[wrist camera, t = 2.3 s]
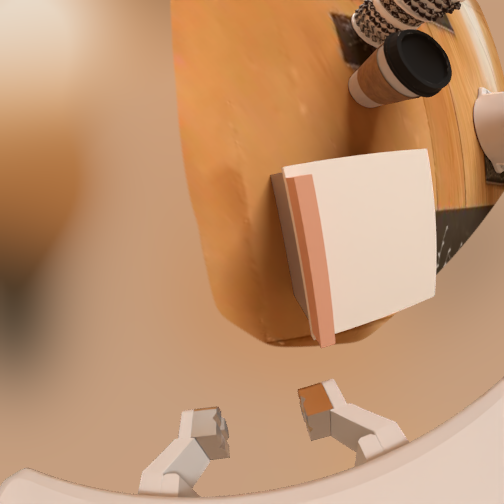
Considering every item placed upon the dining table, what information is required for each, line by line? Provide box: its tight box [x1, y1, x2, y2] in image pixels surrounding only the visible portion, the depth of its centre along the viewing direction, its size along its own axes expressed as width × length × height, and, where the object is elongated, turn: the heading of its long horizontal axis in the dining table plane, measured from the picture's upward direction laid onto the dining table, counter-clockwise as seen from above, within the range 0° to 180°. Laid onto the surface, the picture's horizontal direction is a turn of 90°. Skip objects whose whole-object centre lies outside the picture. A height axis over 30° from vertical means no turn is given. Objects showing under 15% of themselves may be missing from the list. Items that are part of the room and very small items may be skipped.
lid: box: [281, 149, 436, 348], centre depth 25 cm, size 17×18×4 cm
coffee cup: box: [348, 29, 452, 108], centre depth 24 cm, size 8×8×15 cm
